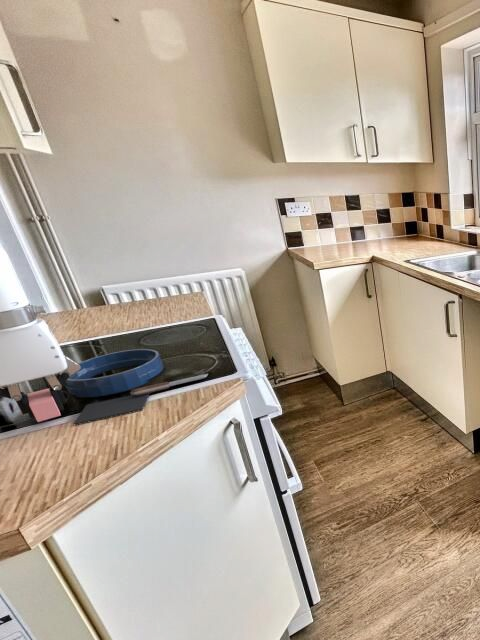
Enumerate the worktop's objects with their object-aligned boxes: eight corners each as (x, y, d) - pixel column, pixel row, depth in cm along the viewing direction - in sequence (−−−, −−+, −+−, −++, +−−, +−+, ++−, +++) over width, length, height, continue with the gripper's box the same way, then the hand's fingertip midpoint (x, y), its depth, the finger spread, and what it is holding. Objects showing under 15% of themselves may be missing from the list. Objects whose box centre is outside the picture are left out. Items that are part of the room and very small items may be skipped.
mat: (73, 425, 77) (72, 423, 77) (87, 406, 84) (86, 404, 84) (142, 410, 82) (141, 408, 82) (150, 393, 88) (149, 391, 88)
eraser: (37, 422, 76) (29, 405, 75) (34, 409, 80) (26, 393, 79) (60, 415, 78) (53, 399, 77) (57, 403, 82) (49, 387, 81)
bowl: (58, 407, 83) (48, 387, 82) (83, 376, 96) (75, 358, 95) (158, 387, 91) (151, 368, 89) (170, 360, 104) (163, 344, 102)
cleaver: (207, 370, 96) (207, 373, 92) (209, 376, 97) (209, 379, 93) (131, 386, 89) (129, 391, 85) (134, 393, 89) (131, 397, 85)
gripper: (66, 304, 80) (102, 389, 87) (-74, 326, 68) (-20, 422, 75) (71, 312, 75) (108, 401, 82) (-78, 337, 64) (-21, 438, 71)
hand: (46, 410), depth 79 cm, fingers closed on eraser, 3 cm apart
